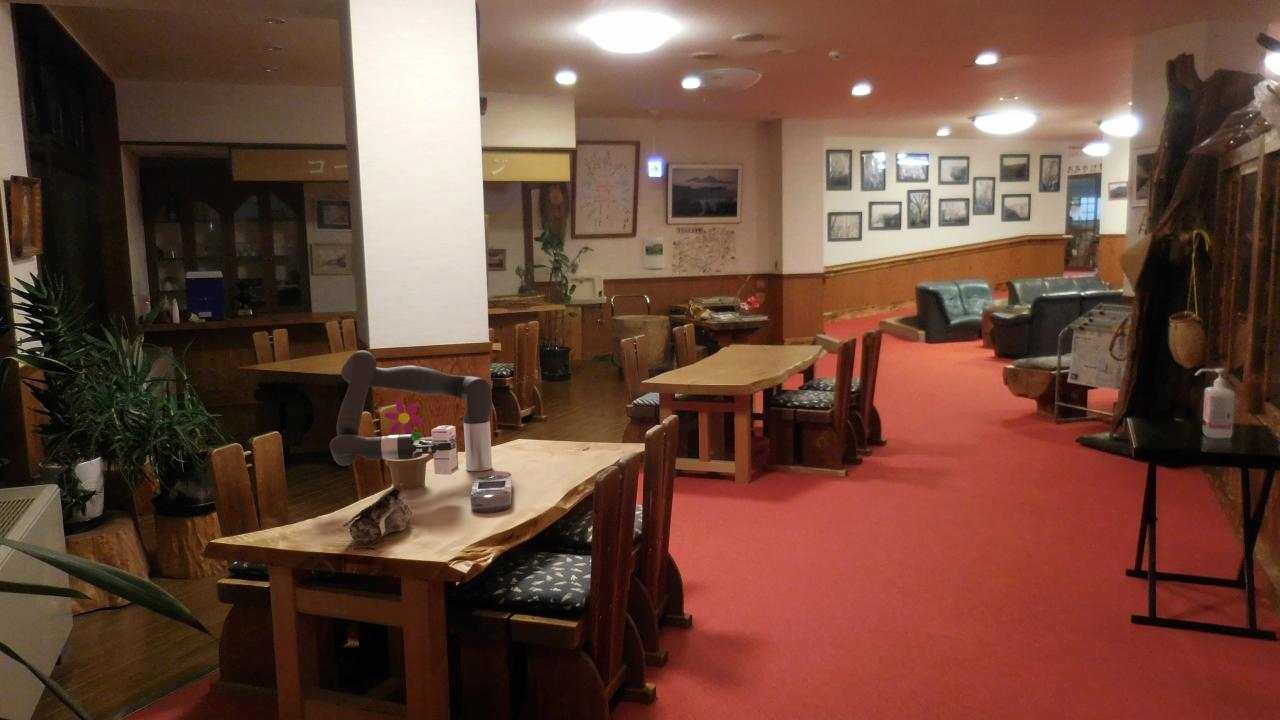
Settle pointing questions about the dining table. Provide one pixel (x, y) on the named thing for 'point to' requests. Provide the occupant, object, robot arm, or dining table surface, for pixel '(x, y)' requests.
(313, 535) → the dining table surface
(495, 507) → the link
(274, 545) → the dining table surface
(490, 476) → the link
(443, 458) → the syrup box
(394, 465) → the flowerpot
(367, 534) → the hollow geode rock
